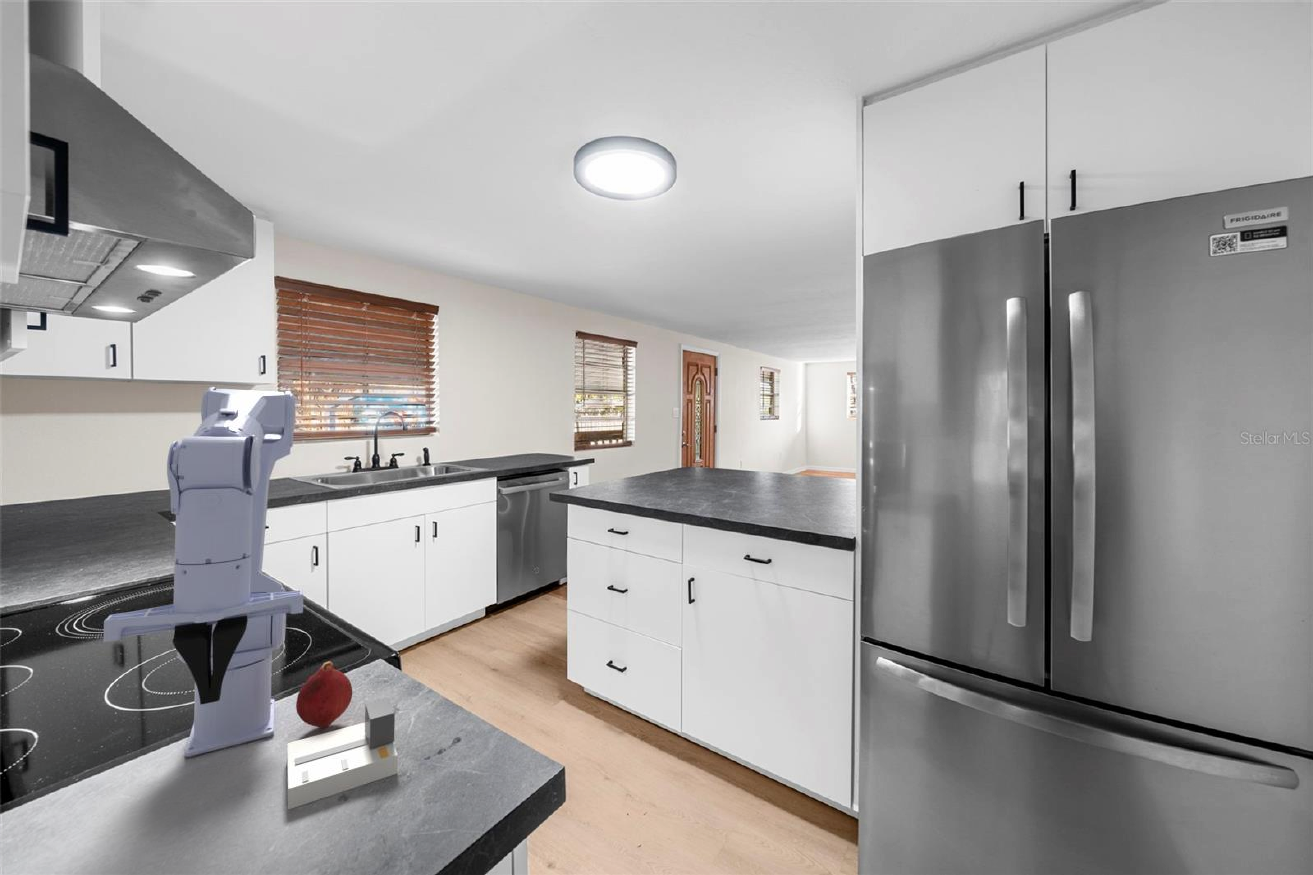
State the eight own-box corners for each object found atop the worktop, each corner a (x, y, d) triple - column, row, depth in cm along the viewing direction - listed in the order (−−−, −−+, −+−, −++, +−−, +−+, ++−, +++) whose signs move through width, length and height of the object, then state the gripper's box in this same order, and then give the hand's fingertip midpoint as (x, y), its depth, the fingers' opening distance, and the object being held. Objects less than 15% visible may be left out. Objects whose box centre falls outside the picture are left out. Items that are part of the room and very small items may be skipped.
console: (286, 761, 57) (287, 742, 57) (383, 733, 63) (384, 716, 63) (287, 809, 50) (288, 788, 50) (397, 773, 56) (397, 754, 56)
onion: (324, 744, 61) (325, 676, 61) (283, 737, 62) (284, 670, 62) (362, 718, 66) (363, 655, 66) (323, 712, 68) (325, 651, 68)
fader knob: (364, 731, 60) (365, 703, 60) (388, 725, 61) (388, 697, 61) (369, 748, 56) (370, 719, 56) (394, 741, 58) (394, 712, 58)
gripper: (95, 577, 43) (90, 742, 43) (305, 557, 52) (302, 694, 51) (116, 562, 49) (112, 707, 49) (302, 545, 57) (300, 669, 57)
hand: (210, 698), depth 50 cm, fingers closed
